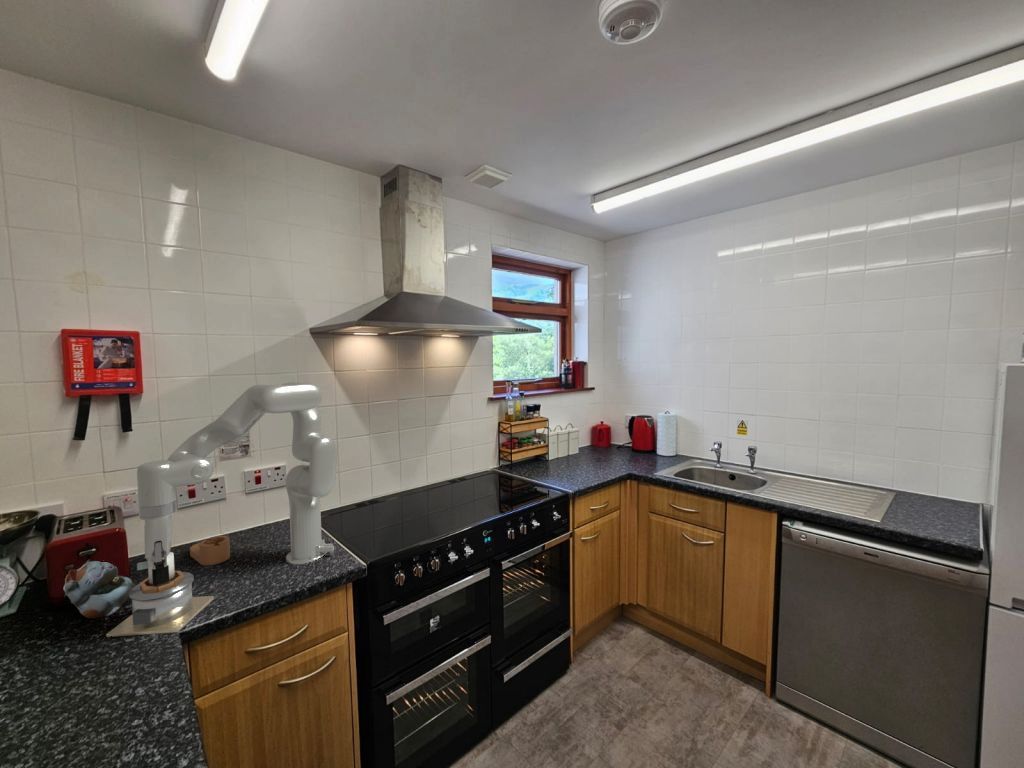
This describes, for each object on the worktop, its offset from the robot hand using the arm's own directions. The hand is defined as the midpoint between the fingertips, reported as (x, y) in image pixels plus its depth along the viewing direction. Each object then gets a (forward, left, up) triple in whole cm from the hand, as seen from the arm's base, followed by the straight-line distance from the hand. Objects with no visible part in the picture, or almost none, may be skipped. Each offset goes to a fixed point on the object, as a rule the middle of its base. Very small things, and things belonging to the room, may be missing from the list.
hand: (162, 577), depth 110 cm
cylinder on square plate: (0, 0, -11) cm, 11 cm away
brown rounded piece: (+9, -36, -11) cm, 39 cm away
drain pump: (0, 0, 0) cm, 0 cm away
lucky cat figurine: (+20, -7, -11) cm, 24 cm away
